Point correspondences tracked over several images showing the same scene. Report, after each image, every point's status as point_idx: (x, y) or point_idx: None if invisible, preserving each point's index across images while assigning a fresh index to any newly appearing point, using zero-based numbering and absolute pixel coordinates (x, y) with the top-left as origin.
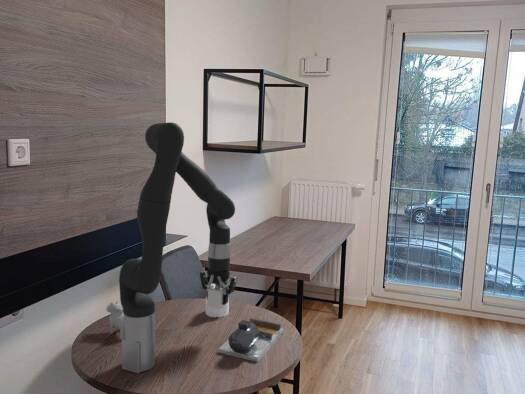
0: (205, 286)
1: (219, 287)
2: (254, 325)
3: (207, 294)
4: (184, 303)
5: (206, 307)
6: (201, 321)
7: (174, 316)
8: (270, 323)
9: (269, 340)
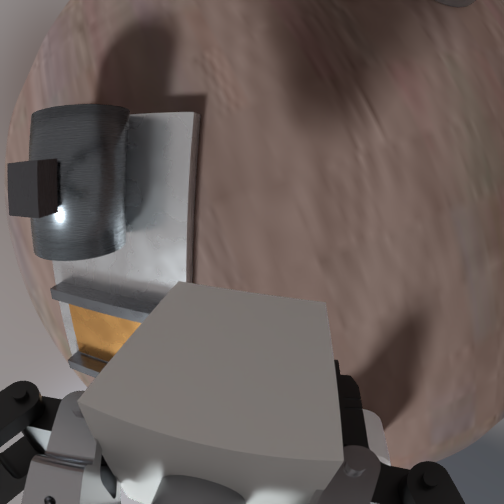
0: (403, 499)
1: (154, 500)
2: (33, 244)
3: (358, 419)
4: (452, 438)
5: (382, 435)
6: (384, 367)
7: (480, 360)
8: (96, 370)
9: (61, 266)
